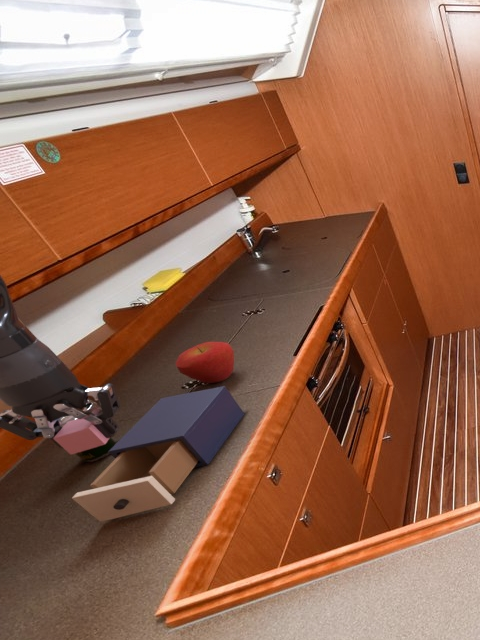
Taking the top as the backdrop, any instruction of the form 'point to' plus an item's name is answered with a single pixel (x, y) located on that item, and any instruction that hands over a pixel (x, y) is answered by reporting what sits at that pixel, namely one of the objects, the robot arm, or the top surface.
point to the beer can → (94, 452)
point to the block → (79, 436)
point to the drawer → (138, 481)
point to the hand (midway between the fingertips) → (93, 439)
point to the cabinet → (186, 423)
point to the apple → (207, 362)
